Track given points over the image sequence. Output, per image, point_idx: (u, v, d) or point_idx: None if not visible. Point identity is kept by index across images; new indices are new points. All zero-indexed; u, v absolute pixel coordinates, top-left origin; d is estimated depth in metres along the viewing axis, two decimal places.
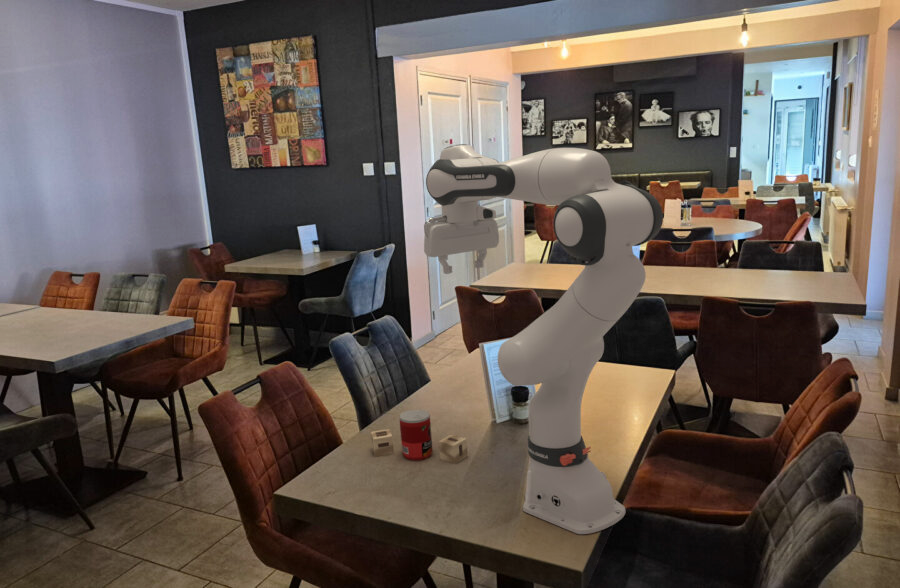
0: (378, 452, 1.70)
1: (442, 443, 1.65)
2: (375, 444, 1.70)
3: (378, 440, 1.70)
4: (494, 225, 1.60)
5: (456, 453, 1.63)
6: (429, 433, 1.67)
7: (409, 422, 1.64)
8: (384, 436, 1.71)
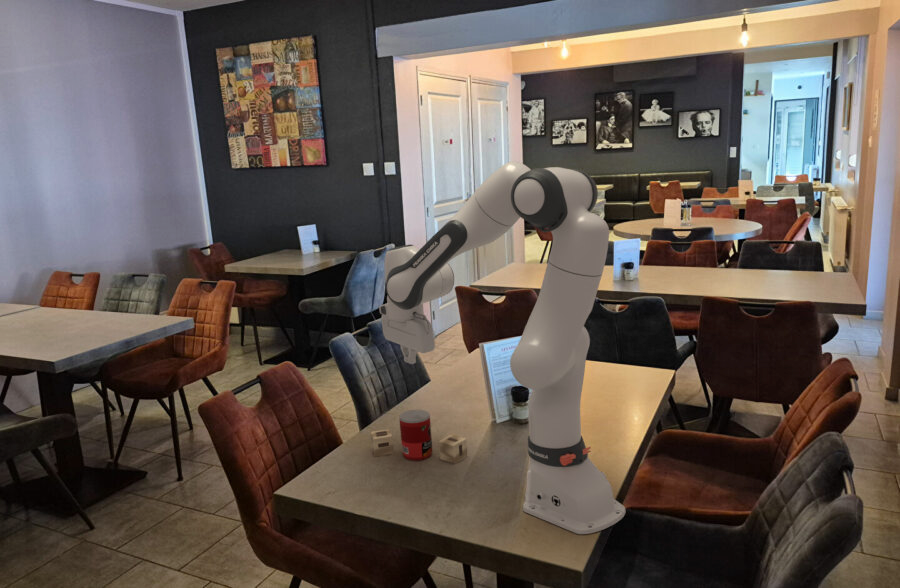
0: (378, 452, 1.70)
1: (442, 443, 1.65)
2: (375, 444, 1.70)
3: (378, 440, 1.70)
4: None
5: (456, 453, 1.63)
6: (429, 433, 1.67)
7: (409, 422, 1.64)
8: (384, 436, 1.71)
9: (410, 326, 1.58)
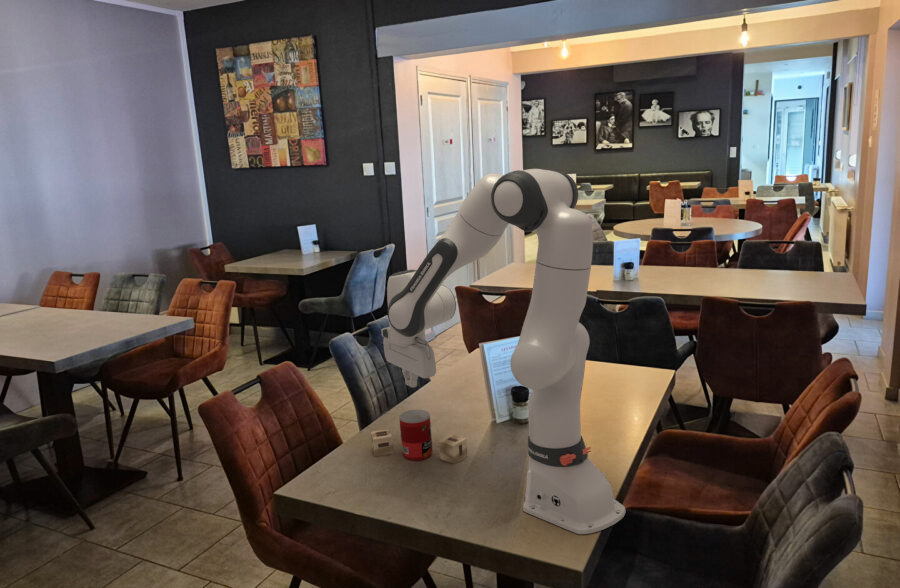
0: (378, 452, 1.70)
1: (442, 443, 1.65)
2: (375, 444, 1.70)
3: (378, 440, 1.70)
4: None
5: (456, 453, 1.63)
6: (429, 433, 1.67)
7: (409, 422, 1.65)
8: (384, 436, 1.71)
9: (412, 351, 1.59)
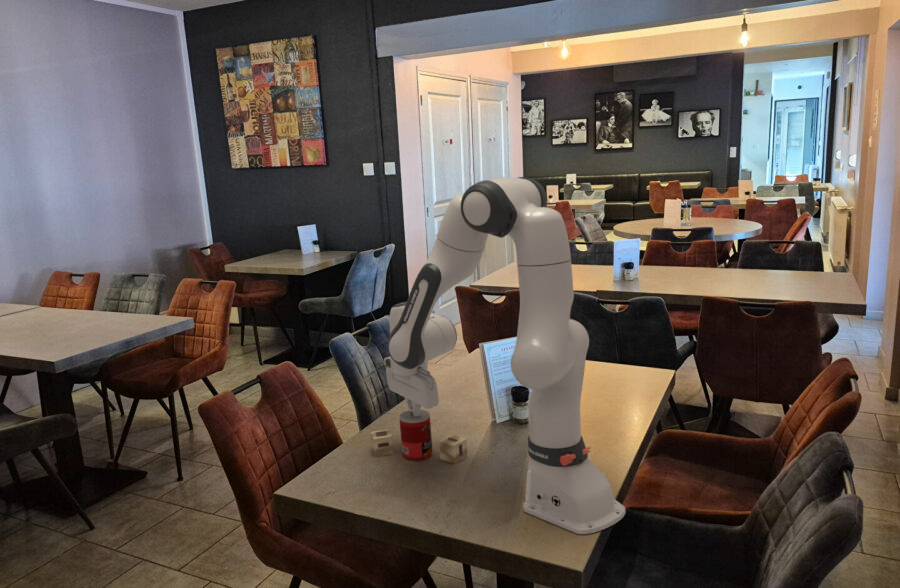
0: (378, 452, 1.70)
1: (442, 443, 1.65)
2: (375, 444, 1.70)
3: (378, 440, 1.70)
4: None
5: (456, 453, 1.63)
6: (429, 433, 1.67)
7: (409, 422, 1.64)
8: (384, 436, 1.71)
9: (414, 381, 1.61)
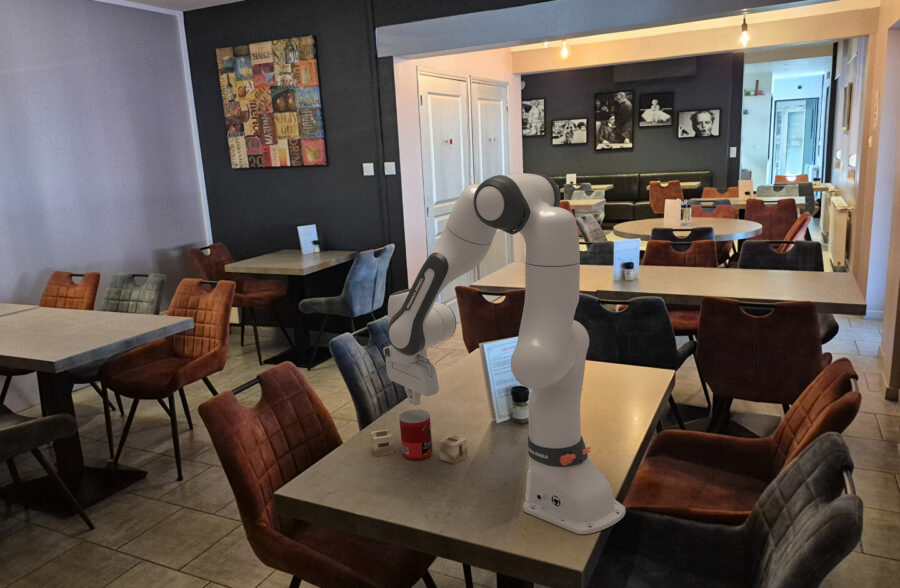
0: (377, 452, 1.70)
1: (442, 443, 1.65)
2: (375, 444, 1.70)
3: (378, 440, 1.70)
4: None
5: (456, 453, 1.63)
6: (429, 433, 1.67)
7: (409, 422, 1.64)
8: (384, 436, 1.71)
9: (414, 369, 1.60)
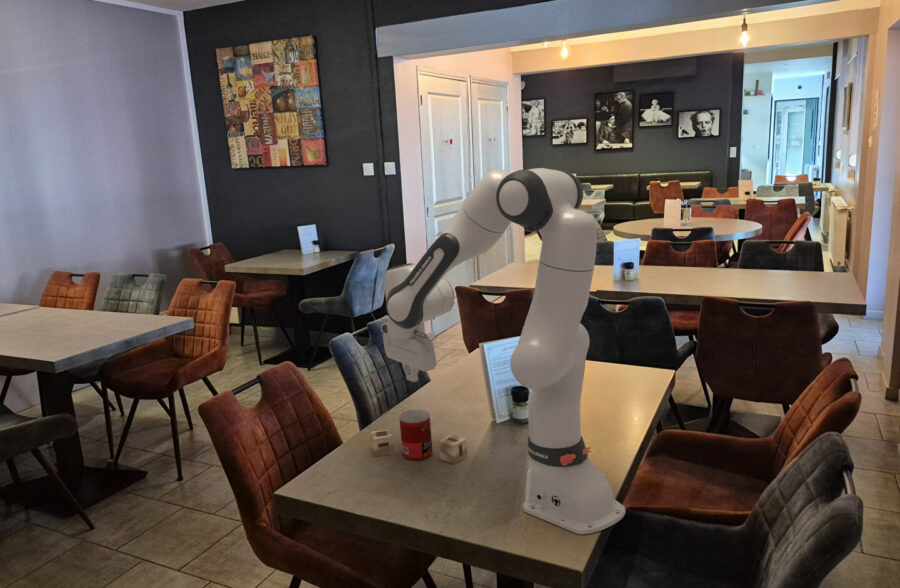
0: (377, 452, 1.70)
1: (442, 443, 1.65)
2: (375, 444, 1.70)
3: (378, 440, 1.70)
4: None
5: (456, 453, 1.63)
6: (429, 433, 1.67)
7: (409, 422, 1.64)
8: (384, 436, 1.71)
9: (411, 344, 1.59)
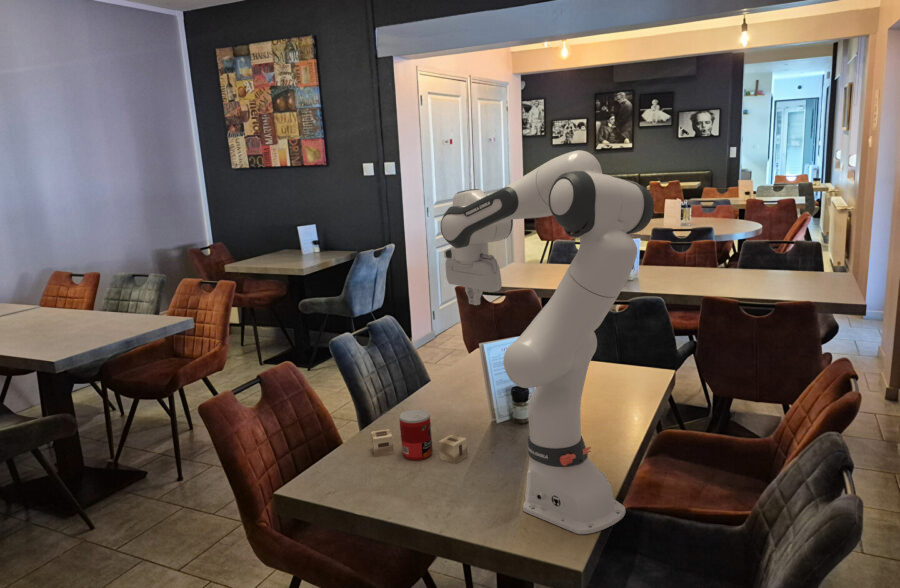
0: (377, 452, 1.70)
1: (442, 443, 1.65)
2: (375, 444, 1.70)
3: (378, 440, 1.70)
4: None
5: (456, 453, 1.63)
6: (429, 433, 1.67)
7: (409, 422, 1.64)
8: (384, 436, 1.71)
9: (477, 267, 1.65)
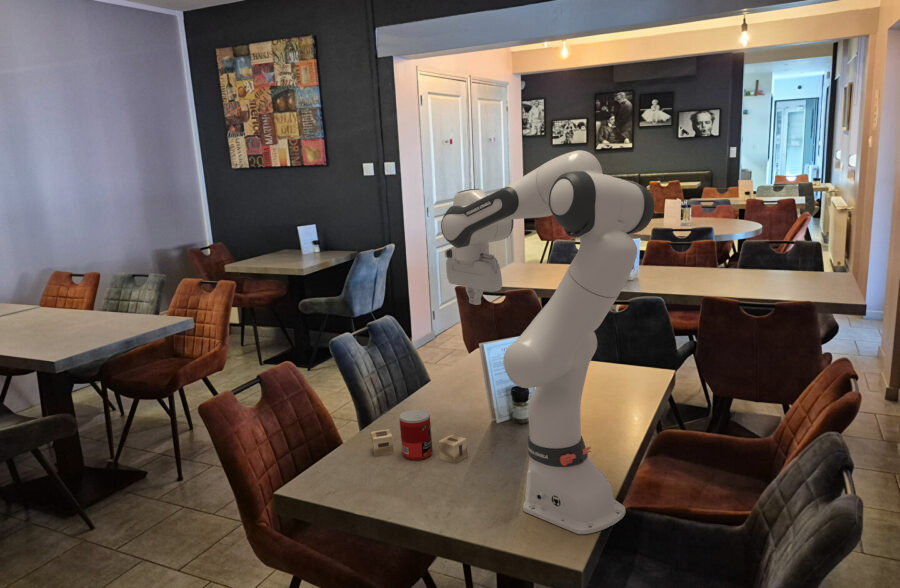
0: (377, 452, 1.70)
1: (442, 443, 1.65)
2: (375, 444, 1.70)
3: (378, 440, 1.70)
4: None
5: (456, 453, 1.63)
6: (429, 433, 1.67)
7: (409, 422, 1.64)
8: (384, 436, 1.71)
9: (478, 266, 1.65)
